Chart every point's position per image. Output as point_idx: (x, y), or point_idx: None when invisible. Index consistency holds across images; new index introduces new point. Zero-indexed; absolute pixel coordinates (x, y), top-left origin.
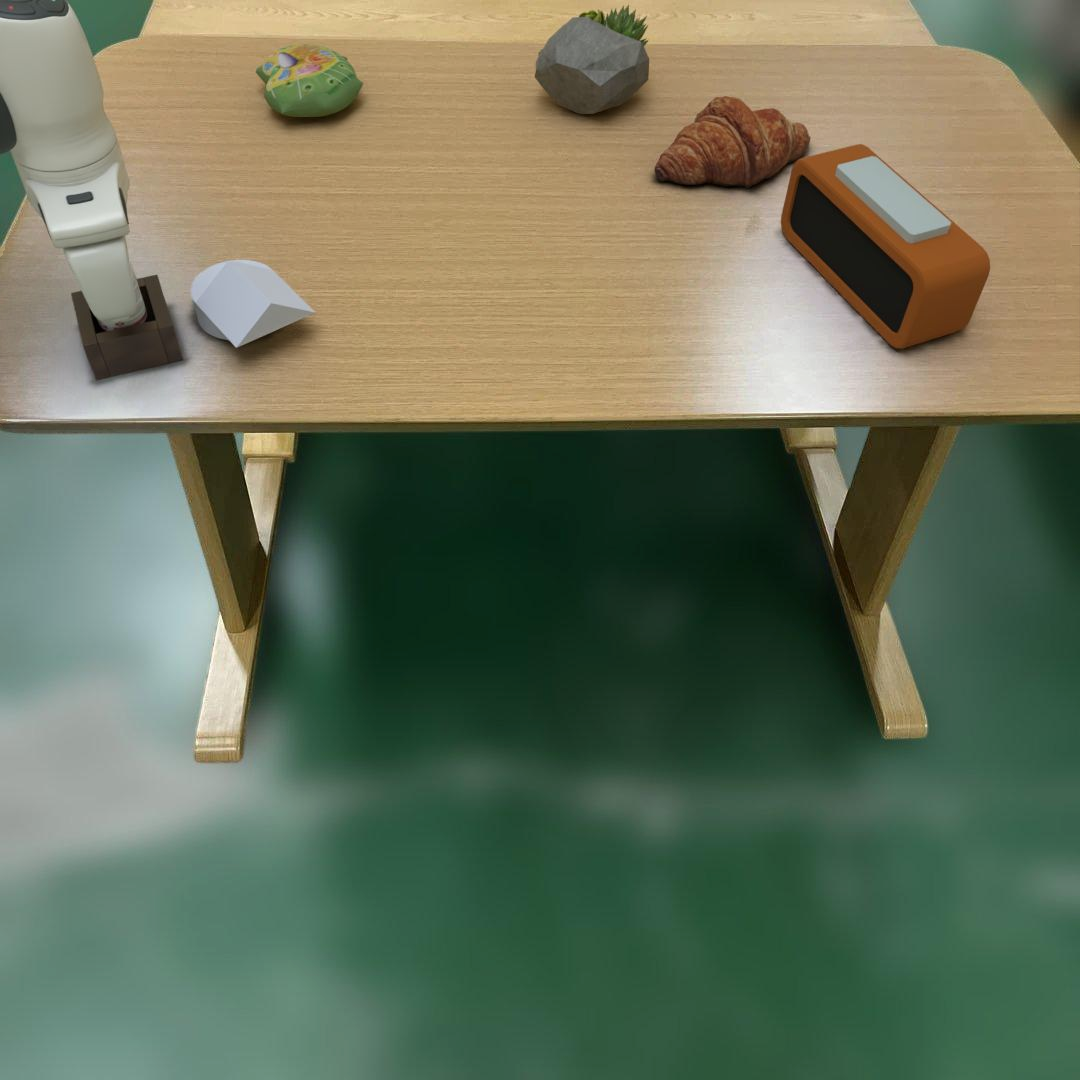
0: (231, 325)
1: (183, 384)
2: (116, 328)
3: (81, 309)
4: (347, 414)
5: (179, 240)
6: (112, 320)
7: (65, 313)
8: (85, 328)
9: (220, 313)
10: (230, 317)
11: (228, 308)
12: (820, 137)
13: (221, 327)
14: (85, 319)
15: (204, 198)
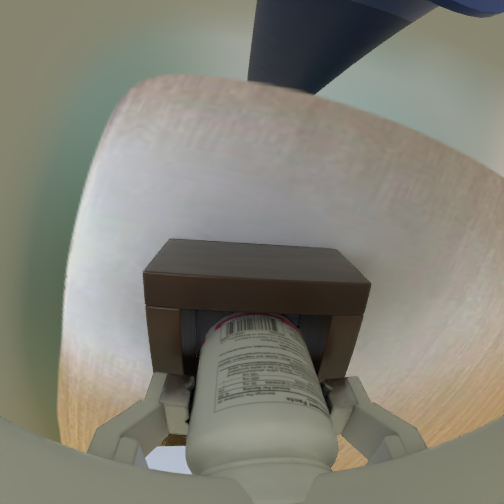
0: (152, 461)
1: (121, 355)
2: (202, 344)
3: (294, 297)
4: (64, 439)
5: (426, 392)
6: (155, 373)
7: (390, 226)
8: (209, 291)
9: (183, 461)
10: (164, 467)
11: (181, 473)
12: None
13: (161, 449)
14: (248, 298)
15: (458, 408)
